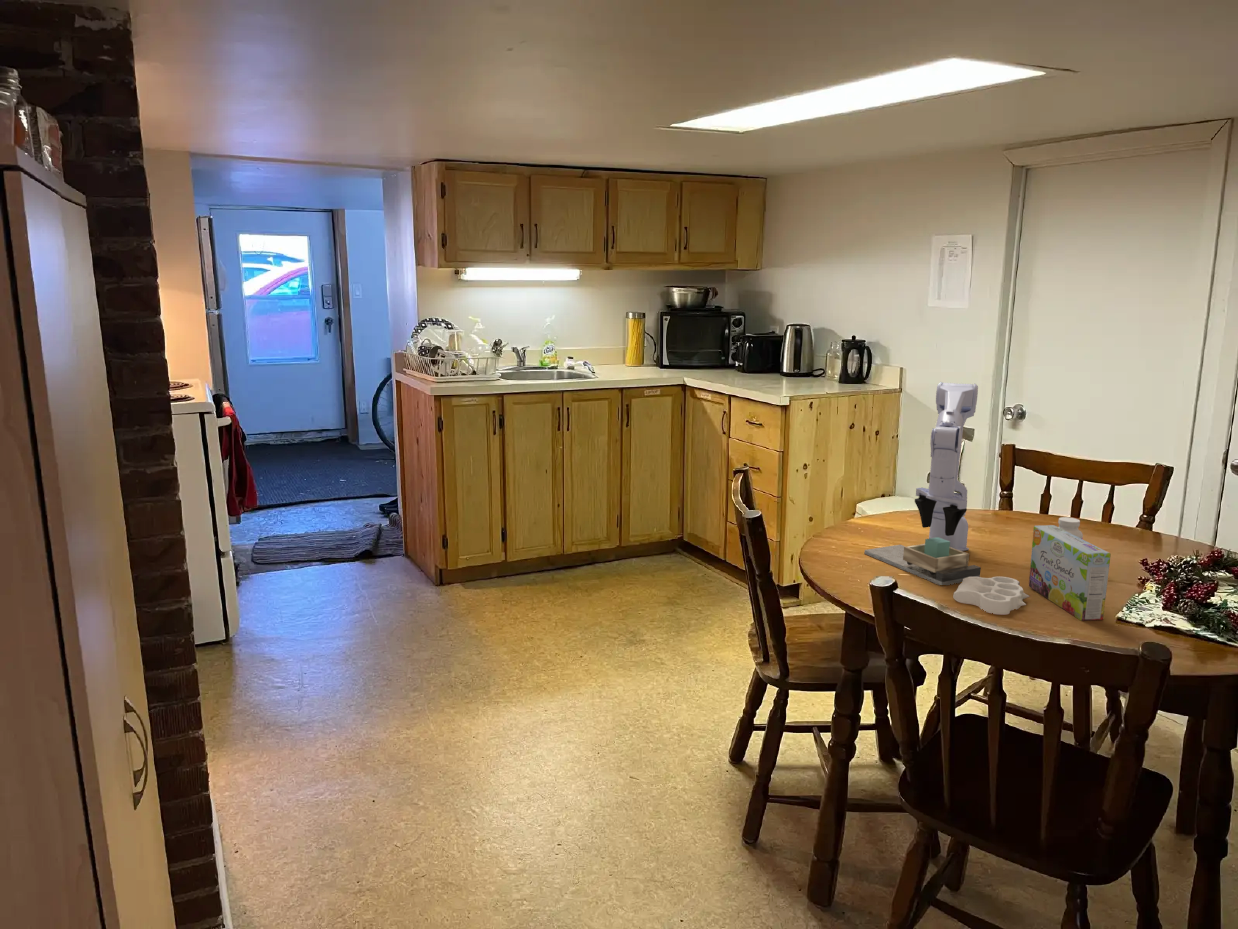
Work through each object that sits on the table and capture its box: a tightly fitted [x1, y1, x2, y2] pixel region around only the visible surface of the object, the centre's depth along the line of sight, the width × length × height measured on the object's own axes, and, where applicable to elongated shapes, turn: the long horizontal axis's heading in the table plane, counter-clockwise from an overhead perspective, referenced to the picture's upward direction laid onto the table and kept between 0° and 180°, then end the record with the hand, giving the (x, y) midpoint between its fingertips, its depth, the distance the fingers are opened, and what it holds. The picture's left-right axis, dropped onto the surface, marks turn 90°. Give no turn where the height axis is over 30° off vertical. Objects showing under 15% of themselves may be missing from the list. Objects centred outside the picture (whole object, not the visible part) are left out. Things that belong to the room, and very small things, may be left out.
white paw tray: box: [952, 576, 1031, 616], centre depth 196 cm, size 3×18×15 cm
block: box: [924, 537, 950, 558], centre depth 213 cm, size 4×4×5 cm
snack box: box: [1028, 524, 1111, 622], centre depth 193 cm, size 21×6×15 cm, turn 5°
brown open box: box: [903, 543, 970, 574], centre depth 213 cm, size 11×11×4 cm
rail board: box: [864, 544, 982, 586], centre depth 218 cm, size 12×27×3 cm, turn 25°
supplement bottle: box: [1057, 516, 1084, 540], centre depth 215 cm, size 7×7×13 cm
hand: (937, 531), depth 212 cm, fingers open, 7 cm apart
